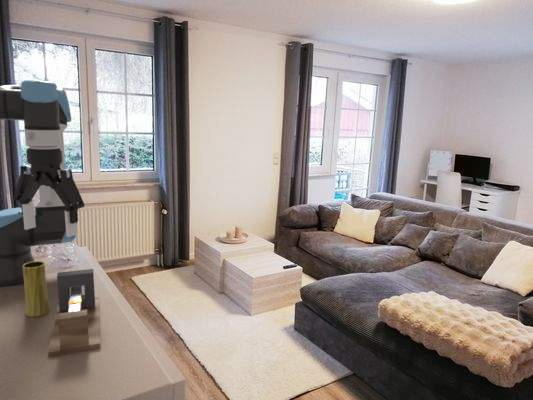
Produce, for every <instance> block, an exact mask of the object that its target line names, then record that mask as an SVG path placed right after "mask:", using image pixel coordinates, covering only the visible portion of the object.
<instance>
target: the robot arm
mask: <svg viewBox="0 0 533 400" xmlns="http://www.w3.org/2000/svg"><path fill="white" fill-rule="evenodd" d="M57 86H58V85H57V84H56V83H55V82H52V81H46V80H45V81H43V80H30V79H29V80H23V81H21V83H20V84H5V85H0V120H2V121H3V120H4V121H5V120H7V121H23V122H24V123H23V125H24V126H23V127H24V128H23V129H24V138H25V145H26V146H27V147H28V148H26V150H25V152H26V162H27V164H25V165H20V167H19V169H20V170H19V171H20V172H19V173H20V174H19V177H18V181H17V184H16V187H15V189H14V195H13V201H16V202H17V201H18V203H19V204H20V206H21V207H12V208H6V209H2V210H0V287H6V286H7V287H8V286H14V285H20V284H24V277H23V268H22V266H23V265H24V264H25V263H28V262H33V261H36V260H35V258H34V256H33V254H32V247H38V246H39V247H40V246H47V245H58V244H59V245H62V244H67V243H71V242H74V241H75V239H76V237H77V235H78V222H79V214H78V213H79V212H78V210H79V209H82V208H84V207H85V203H84V200H83V197H82V196H81V194H80V191H79V189H78V186H77V184H76V182H75V180H74V178H73V171H72V169H71V168H66V159H65V158H66V157H65V155H66V154H65V145H64V144H65V143H64V141H65V140H64V131H65V130H66V129H67V128H68V123H70V122H72V114H71V108H70V104H69V103H70V102H69V100H68V99H69V98H68V96H67V92H66V91H65V89H64V88H62V87H57ZM37 192H38V197H39V201H38V203H37V204H36V205H35V204H34V202H33V199H34V197H35V195H36V194H37Z"/></svg>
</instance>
